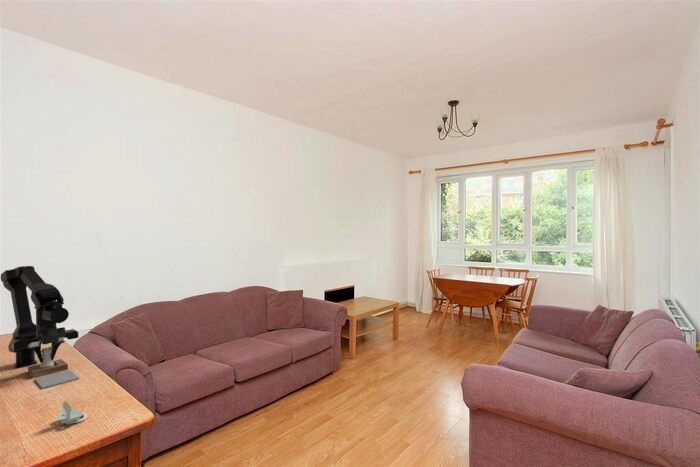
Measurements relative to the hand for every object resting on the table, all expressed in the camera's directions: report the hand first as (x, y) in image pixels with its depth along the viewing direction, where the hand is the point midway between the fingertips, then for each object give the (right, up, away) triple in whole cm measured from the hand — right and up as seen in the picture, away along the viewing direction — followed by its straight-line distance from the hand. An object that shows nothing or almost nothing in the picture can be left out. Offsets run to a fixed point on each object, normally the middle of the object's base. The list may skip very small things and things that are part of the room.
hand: (46, 361), depth 132 cm
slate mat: (+11, -3, -9) cm, 15 cm away
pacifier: (+40, -3, -37) cm, 54 cm away
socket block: (0, -4, 0) cm, 4 cm away
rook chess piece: (0, -3, 0) cm, 3 cm away
